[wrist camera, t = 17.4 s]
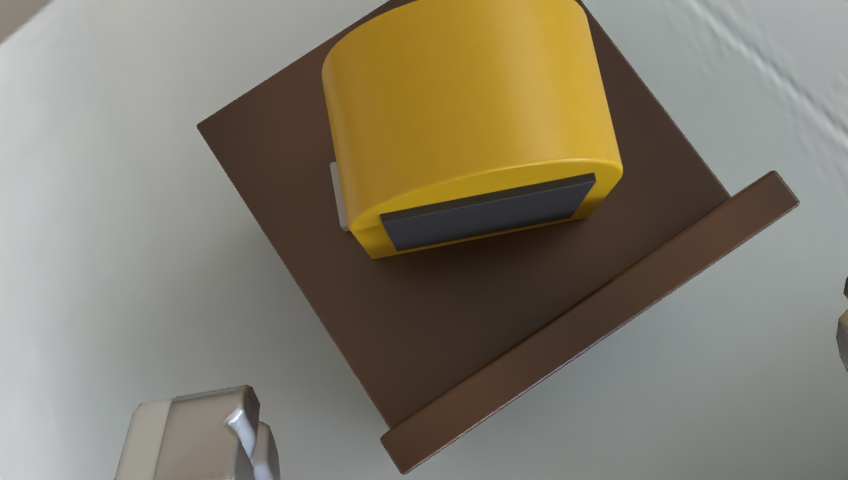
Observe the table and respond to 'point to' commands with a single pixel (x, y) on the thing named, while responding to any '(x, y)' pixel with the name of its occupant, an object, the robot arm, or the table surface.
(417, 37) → the tape measure
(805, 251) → the table surface
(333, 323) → the shelf
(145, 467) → the robot arm
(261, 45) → the table surface
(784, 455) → the table surface
